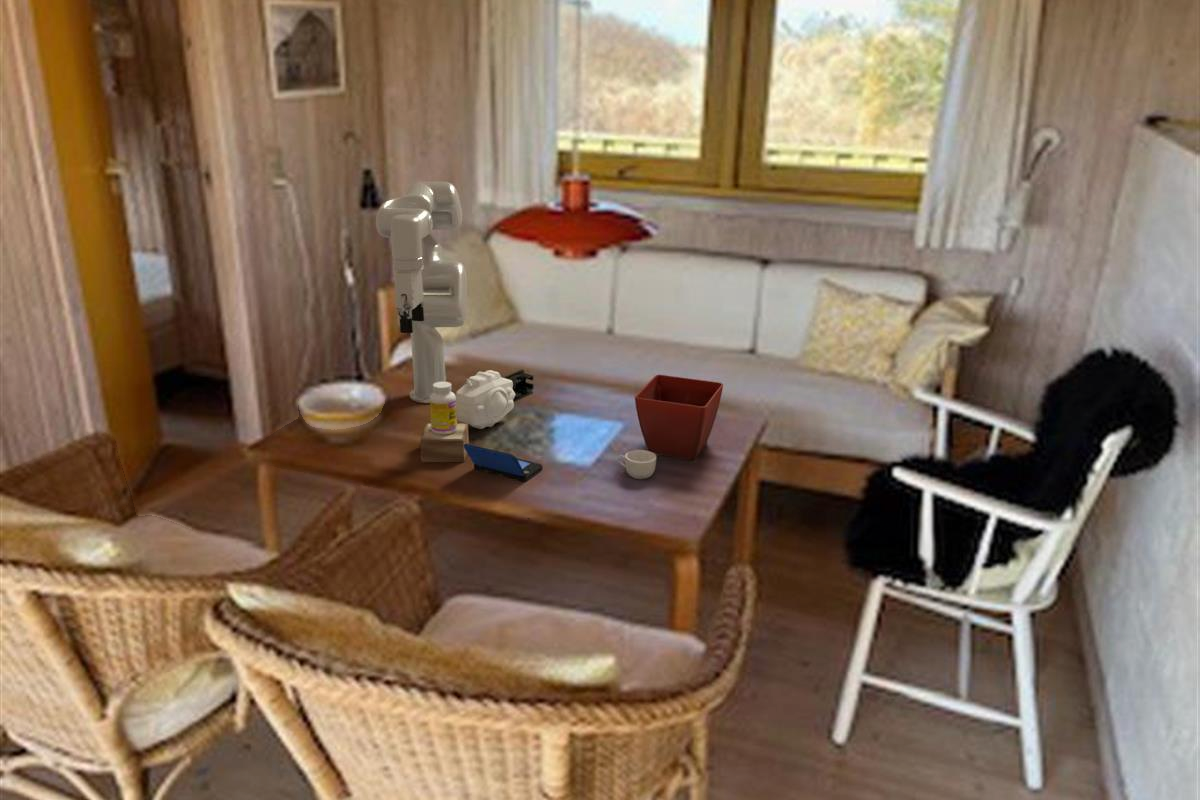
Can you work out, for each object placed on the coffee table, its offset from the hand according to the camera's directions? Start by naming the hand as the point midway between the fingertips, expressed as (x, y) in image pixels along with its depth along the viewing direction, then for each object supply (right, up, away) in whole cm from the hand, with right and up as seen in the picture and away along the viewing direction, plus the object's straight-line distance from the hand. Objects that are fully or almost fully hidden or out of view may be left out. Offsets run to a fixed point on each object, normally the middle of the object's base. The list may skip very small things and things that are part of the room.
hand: (412, 326), depth 244 cm
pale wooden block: (+9, -33, -1) cm, 35 cm away
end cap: (+24, -18, +40) cm, 49 cm away
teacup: (+59, -38, -11) cm, 71 cm away
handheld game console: (+25, -38, -11) cm, 47 cm away
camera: (+18, -27, +17) cm, 36 cm away
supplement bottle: (+9, -28, -3) cm, 29 cm away
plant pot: (+70, -33, +4) cm, 78 cm away
